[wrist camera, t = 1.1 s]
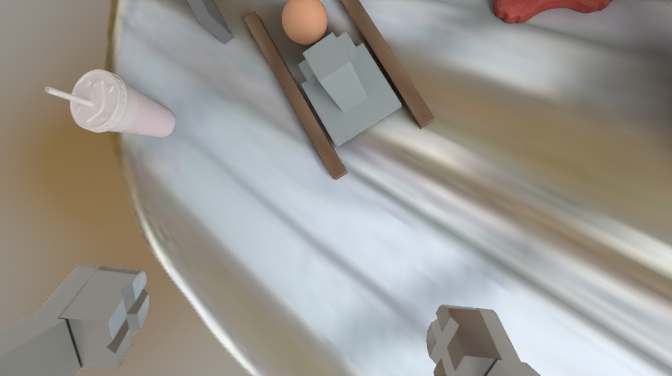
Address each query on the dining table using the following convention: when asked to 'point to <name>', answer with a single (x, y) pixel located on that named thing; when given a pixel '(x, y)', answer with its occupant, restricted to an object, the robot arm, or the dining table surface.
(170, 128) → the smoothie
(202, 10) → the grey walled tray
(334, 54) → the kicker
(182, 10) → the dining table surface
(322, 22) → the ball
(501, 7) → the stacking bear
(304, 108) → the lane
